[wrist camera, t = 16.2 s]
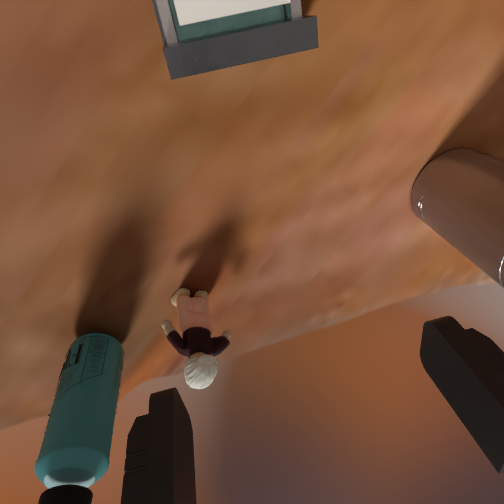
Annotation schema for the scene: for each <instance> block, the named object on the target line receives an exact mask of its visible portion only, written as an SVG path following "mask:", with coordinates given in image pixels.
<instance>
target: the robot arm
mask: <svg viewBox="0 0 504 504" xmlns="http://www.w3.org/2000/svg"><path fill="white" fill-rule="evenodd" d="M411 205H412V209H413V211H414V213H415V214H416V216H418V217H419V218H420V219H421V220H422V221H424V222H425V223H426V224H427V225H428V226H429V227H431V228H432V229H433V230H434V231H435V232H437V233H438V234H439V235H440V236H441V237H442V238H444V239H445V240H446V241H447V242H448V243H450V244H451V245H452V246H453V247H454V248H456V249H457V250H458V251H459V252H461V253H462V254H463V255H464V256H465V257H467V258H468V259H469V260H470V261H471V262H473V263H474V264H475V265H476V266H477V267H479V268H480V269H481V270H482V271H483V272H485V273H486V274H487V275H488V276H489V277H491V278H492V279H493V280H494V281H496V282H497V283H498V284H499V285H500V286H502V287H503V288H504V160H502V159H500V158H497V157H495V156H493V155H491V154H485V155H482V154H480V153H478V152H475V151H473V150H470V149H454V150H450V151H448V152H445V153H443V154H441V155H439V156H438V157H436V158H435V159H433V160H432V161H431V162H430V163H429V164H428V165H427V166H426V167H425V168H424V169H423V170H422V172H421V173H420V174H419V176H418V178H417V179H416V181H415V183H414V186H413V189H412V193H411ZM420 358H421V362H422V364H423V367H424V369H425V370H426V372H427V373H428V375H429V376H430V377H431V379H432V380H433V382H434V383H435V385H436V386H437V387H438V389H439V390H440V392H441V393H442V395H443V396H444V397H445V399H446V400H447V402H448V403H449V404H450V406H451V407H452V409H453V410H454V411H455V413H456V414H457V416H458V417H459V418H460V420H461V421H462V423H463V424H464V426H465V427H466V428H467V430H468V431H469V433H470V434H471V435H472V437H473V438H474V440H475V441H476V442H477V444H478V445H479V446H480V448H481V449H482V451H483V452H484V454H485V455H486V456H487V458H488V459H489V461H490V462H491V463H492V465H493V466H494V468H495V469H496V471H497V472H498V473H503V472H504V352H503V351H502V350H501V349H500V348H499V347H498V346H497V345H496V344H495V343H494V342H493V341H492V340H491V339H490V338H489V337H487V336H485V335H483V334H482V333H480V332H478V331H476V330H475V329H473V328H470V329H466V330H465V329H464V328H463V327H462V326H461V325H460V324H459V323H458V322H457V321H456V320H455V319H454V318H453V317H451V316H445V317H442V318H438V319H434V320H431V321H427V322H425V323H424V326H423V333H422V341H421V347H420ZM124 471H125V475H124V478H123V487H122V497H121V504H196V486H195V485H196V484H195V465H194V445H193V430H192V424H191V420H190V416H189V414H188V411H187V409H186V407H185V405H184V403H183V401H182V399H181V397H180V395H179V393H178V390H177V389H176V388H171V389H167V390H163V391H160V392H156V393H152V394H151V395H150V400H149V414H146V415H143V416H139V417H136V419H135V421H134V424H133V426H132V428H131V430H130V432H129V434H128V439H127V449H126V459H125V468H124Z"/></svg>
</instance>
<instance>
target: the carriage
mask: <svg viewBox="0 0 504 504" xmlns="http://www.w3.org/2000/svg"><path fill="white" fill-rule="evenodd" d="M173 2H174V6H175V10H176V14H177V18H178V22H179V25H180V26H182V25H186V24H191V23H196V22H201V21H206V20H210V19H215V18H220V17H225V16H229V15H234V14H239V13H244V12H248V11H253V10H258V9H263V8H267V7H272V6H277V5H282V4H286V3H291V1H290V0H173Z"/></svg>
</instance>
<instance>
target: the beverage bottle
mask: <svg viewBox="0 0 504 504" xmlns="http://www.w3.org/2000/svg"><path fill="white" fill-rule="evenodd" d="M68 350H69V351H68V355H67V354H66V356H67V358H66V356H65V359H66V362H64V365H63V368H64V369H63V368H62V371H61V373H62V375H61V373H60V376H61V378H60V377H59V380H60V382H58V383H59V385H58V384H57V386H58V388H56V389H57V392H56V394H55V395H56V396H55V399H54V403H53V406H52V409H51V413H50V415H49V414H48V416H49V420H48V424H47V427H46V432H45V436H44V439H43V443H42V446H41V449H40V453H39V456H38V459H37V461H36V464H35V473H36V475H37V477H38V478H39V480H40V481H41V482H42V483H43V484H44V485H45V486H46V487H48V488H49V489H48V490H46V491H44V492H43V493H42V494H41V496H40V499H39V503H38V504H91V502H92V497H93V494H92V492H91V490H90V489H88V488H87V487H89V486H90V485H92V484H93V483H95V482H96V481H97V480H98V479H100V478H101V477H102V476H103V475H104V474H105V473H106V471H107V470H108V467H109V456H110V449H111V441H112V434H113V426H114V419H115V414H116V413H115V412H116V407H117V401H118V393H119V387H120V383H121V382H120V380H121V379H120V377H121V374H122V373H121V369H122V365H123V364H122V362H123V360H124V359H123V351H124V350H123V348H122V346H121V344H120V342H119V341H118V340H117V339H115V338H114V337H112V336H110V335H107V334H102V333H90V334H86V335H83V336H80V337H79V338H77V339H76V340H75V341H74V342H73V343H72V345H71V346H70V348H69V349H68ZM122 372H123V369H122Z"/></svg>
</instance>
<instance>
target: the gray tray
mask: <svg viewBox="0 0 504 504" xmlns="http://www.w3.org/2000/svg"><path fill="white" fill-rule="evenodd" d="M152 1H153V5H154V9H155V12H156V16H157V20H158V23H159V27H160V31H161V35H162V38H163V42H164V46H163V51H164V54H165V58H166V62H167V65H168V69H169V73H170V76H171V80H172V79H177V78H182V77H186V76H191V75H195V74H200V73H204V72H209V71H214V70H218V69H223V68H227V67H232V66H237V65H241V64H246V63H250V62H255V61H259V60H264V59H269V58H273V57H278V56H282V55H287V54H292V53H296V52H301V51H305V50H310V49H314V48H318V31H317V16H304V15H302V9H301V0H290V1H291V3H286V4H282V5H277V6H272V7H267V8H263V9H258V10H253V11H248V12H244V13H239V14H234V15H229V16H225V17H220V18H215V19H210V20H206V21H201V22H196V23H191V24H186V25H182V26H180V25H179V22H178V18H177V14H176V10H175V6H174V2H173V0H152Z"/></svg>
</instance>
